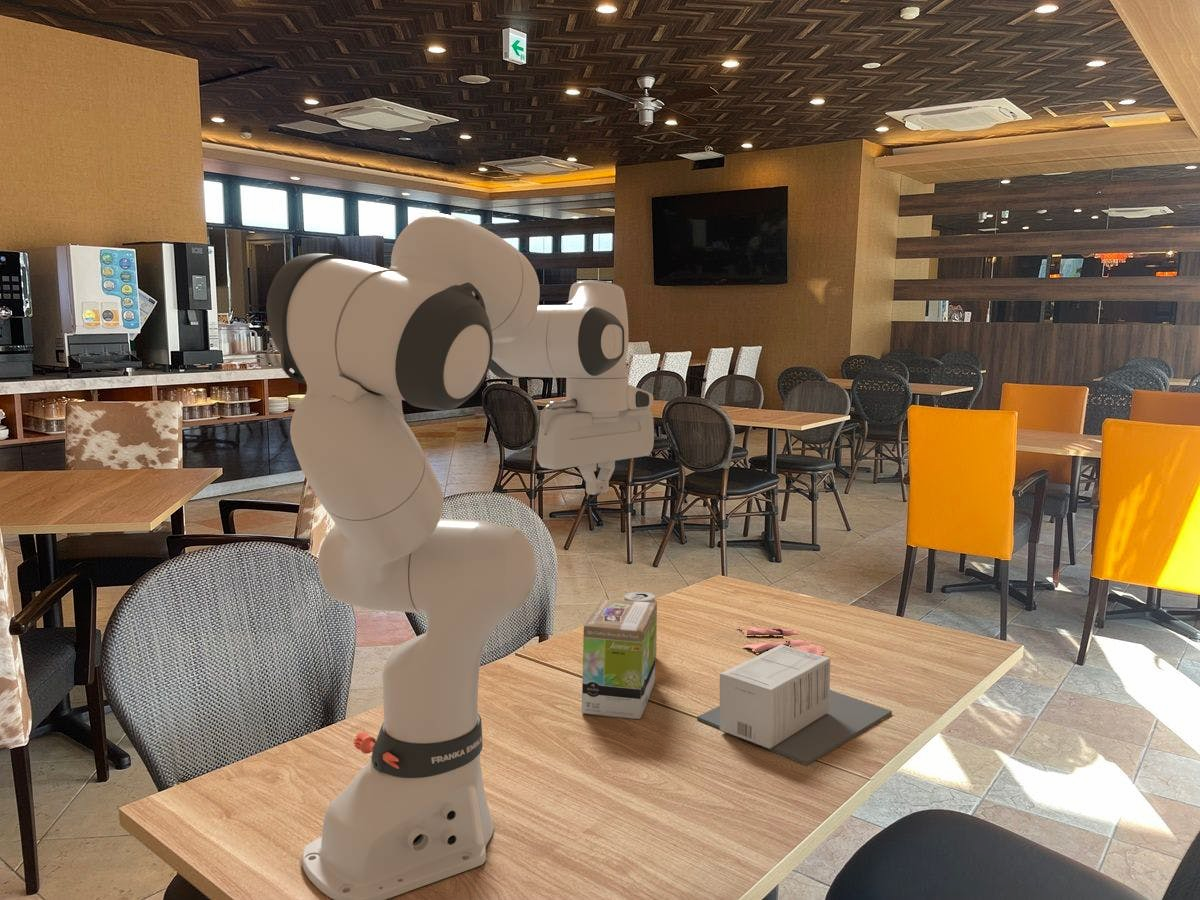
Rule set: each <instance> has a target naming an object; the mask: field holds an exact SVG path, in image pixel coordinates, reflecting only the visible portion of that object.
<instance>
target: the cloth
mask: <svg viewBox="0 0 1200 900" xmlns="http://www.w3.org/2000/svg"><path fill="white" fill-rule="evenodd" d="M748 626H749V625H748ZM739 628H741V630H745V629H746V628H744V627H743V626H739ZM783 628H784V627H780V628H772V629H769V630H766V629H761V628H756V627H751V626H749V627H748V629H746V630H747V635H769V636H768V637H772V636H773V635H783V636H791V635H799V634H798V633H797V632H798V631H797V632H796V630H794V631H791V630H792V629H787V630H785V629H786V628H784V629H783ZM741 630H740V631H741ZM775 630H776V631H775ZM787 641H788V642H786V641H768V642H759V643H756V644H755V643H753V644H751V643H750V644H746V645H745V646H744V647H743V648H744V649H750V650H751V649H755V651H756V652H755V653H759V654H760V653H761V654H762V653H764V652H766V650H770V649H773V648H775V647H777V646H779V645H781V644H782V645H785V646H789V645H791V647H792V648H793V647H797V646H800V645H804V646H800V647H799V648H798V650H801V651H805V652H808V653H812V654H816V655H820V656H821V655H822V653H823V652H824V647H821V646H815V645H809V646H807V644H809V643H810V642H811V641H804V640H787ZM805 644H806V645H805ZM824 653H825V652H824Z"/></svg>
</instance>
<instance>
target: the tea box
mask: <svg viewBox="0 0 1200 900" xmlns="http://www.w3.org/2000/svg"><path fill="white" fill-rule="evenodd" d="M623 600H624V599H623ZM623 600H620V599H607V598H602V599H601V600H600V601H599V603H598V605H597V606H596V607H595V609H594V611H593V612H592V613H591V615H590V616H589V617H588V619H587V620H586V622H585V623H584V625H583V637H582V639H583V641H582V642H583V643H582V645H583V648H582V649H583V650H582V678H581V679H582V685H581V687H582V688H581V689H582V690H581V691H582V693H581V714H585V715H591V716H592V715H594V716H603V717H612V718H621V719H622V718H623V719H632V720H640V719H641V718H642V716H643V714H644V711H645V708H646V706H647V704H648V701H649V698H650V696H651V693H652V690H653V688H654V684H655V681H656V657H657V650H656V622H658V620H657V619H658V603H657V604H656V603H649V602H636V601H623Z"/></svg>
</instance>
